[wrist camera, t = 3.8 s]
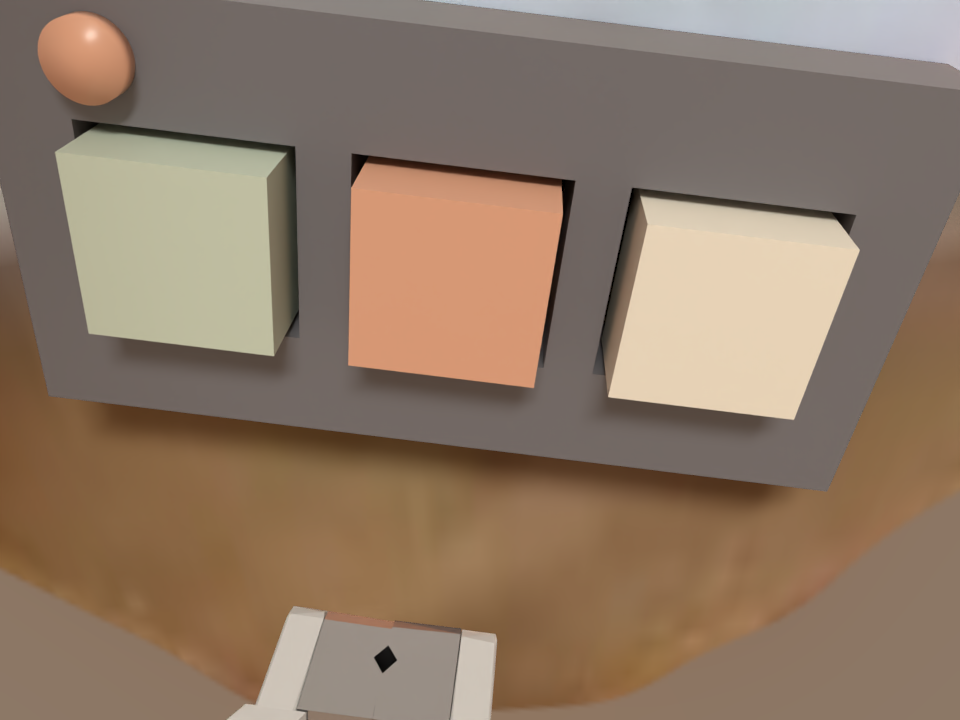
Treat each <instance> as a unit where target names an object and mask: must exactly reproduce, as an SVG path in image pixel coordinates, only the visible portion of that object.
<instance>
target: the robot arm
mask: <svg viewBox="0 0 960 720" xmlns="http://www.w3.org/2000/svg"><path fill="white" fill-rule="evenodd" d="M460 636H461V637H460ZM496 648H497V638H496V634H491V633H484V632H476V631H469V630H462V632H461V629H460V628H452V627H443V626H435V625H427V624H419V623H411V622H402V621H395V622H392V621H386V620H380V619H374V618H368V617H361V616H355V615H349V614H343V613H337V612H331V611H324V610H317V609H310V608H303V607H297V606H294V607H293V608H292V610H291V611H290V613H289V614H288V616H287V618H286V621H285V624H284V627H283V629H282V632H281V635H280V638H279V641H278V643H277V646H276V649H275V652H274V654H273V657H272V660H271V663H270V665H269V668H268V671H267V674H266V677H265V679H264V682H263V685H262V688H261V690H260V693H259V696H258V699H257V702H256V704H255V705H254V704H244V705H243V706H242V707H241V708H240V709H238V710H237V711H236V712H234V713H233V714H232V715H231V716H230V717H228V718H227V719H226V720H491V710H492V698H493V685H494V673H495V660H496ZM457 660H458V661H457ZM456 668H457V669H456Z"/></svg>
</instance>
